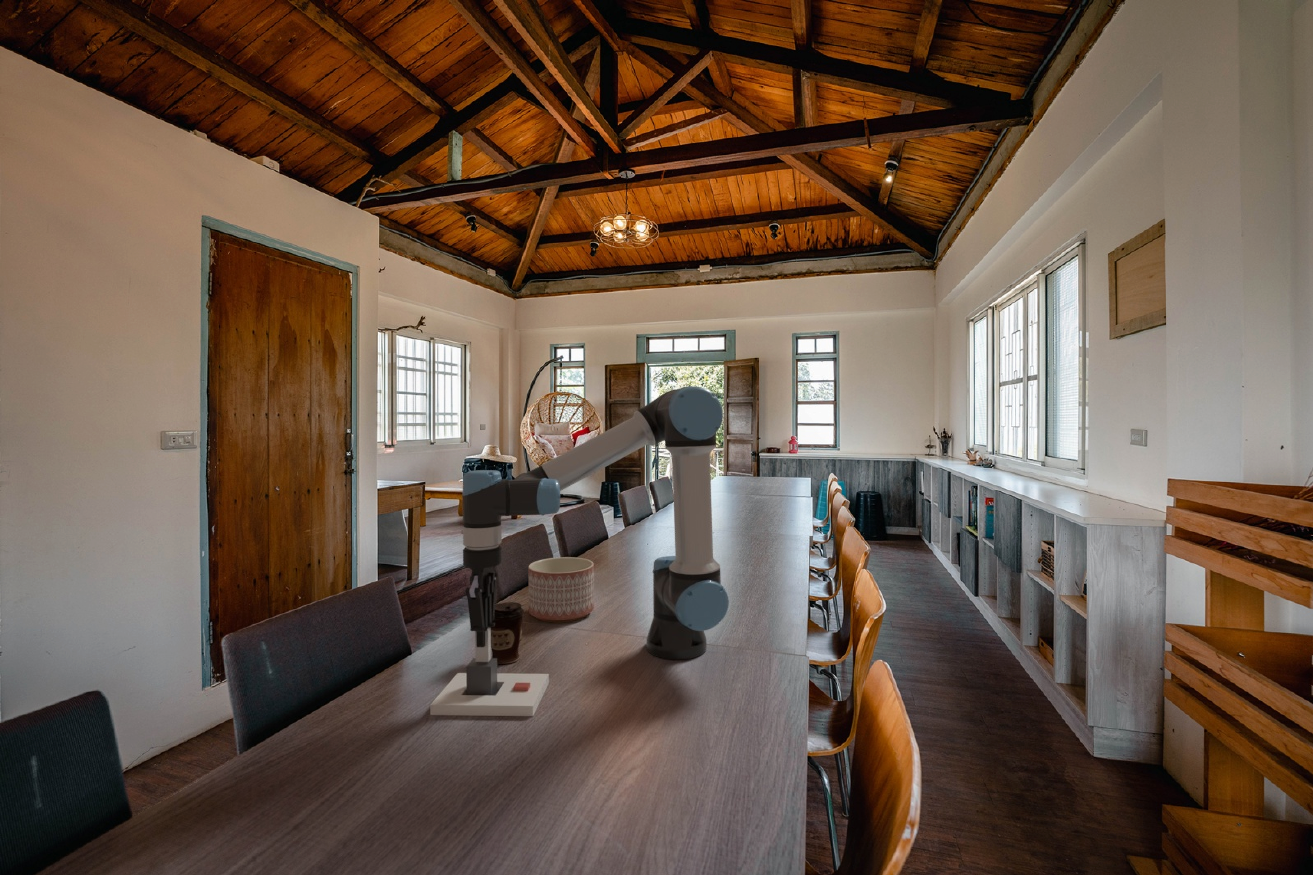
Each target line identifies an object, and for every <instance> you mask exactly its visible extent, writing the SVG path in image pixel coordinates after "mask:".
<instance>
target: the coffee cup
mask: <svg viewBox="0 0 1313 875" xmlns="http://www.w3.org/2000/svg"><path fill="white" fill-rule="evenodd" d="M524 614H525V609H523V608H522V604H521V603H519V602H517V601H516V602H514V601H513V602H512V601H511V602H510V601H509V602H502V603H495V613H494V620H492V622H493V623H495V626H494V627H489V628H491V658H497V664H501V665H502V664H503V665H504V664H512V663H516V662H517V661H519V660H520V654H519V646H520V643H521V641H522V634H523V619H524Z"/></svg>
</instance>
